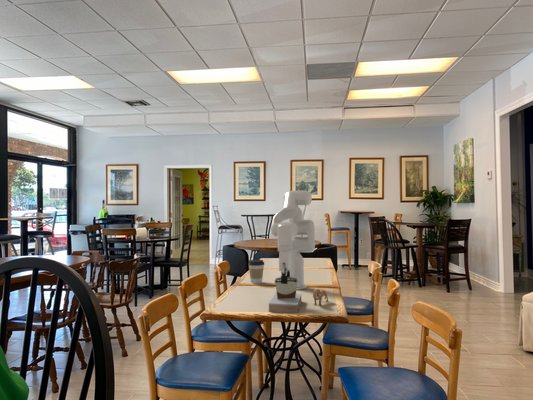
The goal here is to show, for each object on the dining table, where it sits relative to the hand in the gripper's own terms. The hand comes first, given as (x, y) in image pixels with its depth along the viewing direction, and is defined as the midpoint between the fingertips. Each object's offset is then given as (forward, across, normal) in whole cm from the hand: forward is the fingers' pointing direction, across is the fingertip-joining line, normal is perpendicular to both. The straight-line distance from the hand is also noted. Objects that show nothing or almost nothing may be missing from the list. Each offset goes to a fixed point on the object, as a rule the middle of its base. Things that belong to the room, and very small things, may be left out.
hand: (285, 281), depth 177 cm
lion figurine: (+13, -6, +18) cm, 23 cm away
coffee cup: (+14, -50, -27) cm, 59 cm away
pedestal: (+13, +1, 0) cm, 13 cm away
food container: (+9, -1, 0) cm, 9 cm away
